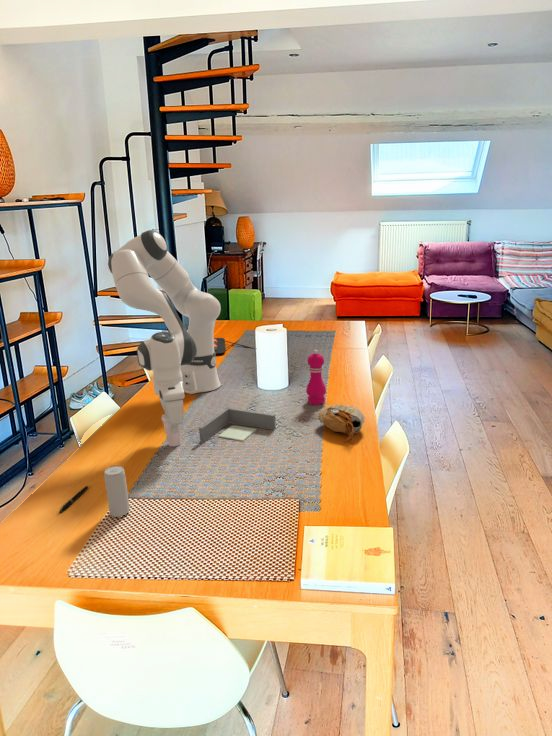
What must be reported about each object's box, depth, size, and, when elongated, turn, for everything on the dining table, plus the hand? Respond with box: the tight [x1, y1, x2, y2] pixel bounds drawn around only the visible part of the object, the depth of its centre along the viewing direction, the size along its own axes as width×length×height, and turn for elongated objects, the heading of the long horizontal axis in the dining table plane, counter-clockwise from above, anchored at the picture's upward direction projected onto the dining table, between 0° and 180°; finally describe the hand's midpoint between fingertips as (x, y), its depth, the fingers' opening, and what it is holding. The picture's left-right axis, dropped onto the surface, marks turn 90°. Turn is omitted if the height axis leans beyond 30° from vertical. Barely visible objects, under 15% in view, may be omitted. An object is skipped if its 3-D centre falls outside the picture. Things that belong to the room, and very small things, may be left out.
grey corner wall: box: [198, 407, 277, 444], centre depth 180 cm, size 18×18×5 cm
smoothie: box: [161, 412, 182, 447], centre depth 174 cm, size 6×6×14 cm
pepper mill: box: [305, 349, 327, 406], centre depth 203 cm, size 7×7×20 cm
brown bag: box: [317, 404, 366, 444], centre depth 178 cm, size 8×22×15 cm
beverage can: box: [103, 465, 131, 518], centre depth 137 cm, size 5×5×12 cm
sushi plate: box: [213, 337, 256, 355], centre depth 280 cm, size 29×30×4 cm
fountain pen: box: [58, 483, 91, 514], centre depth 146 cm, size 14×1×2 cm, turn 167°
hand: (172, 427), depth 174 cm, fingers closed on smoothie, 6 cm apart
